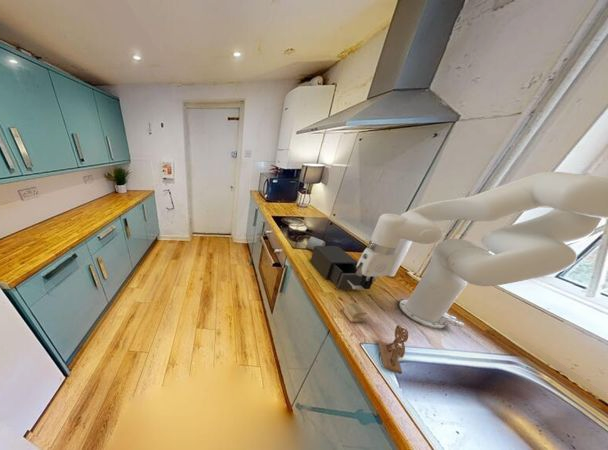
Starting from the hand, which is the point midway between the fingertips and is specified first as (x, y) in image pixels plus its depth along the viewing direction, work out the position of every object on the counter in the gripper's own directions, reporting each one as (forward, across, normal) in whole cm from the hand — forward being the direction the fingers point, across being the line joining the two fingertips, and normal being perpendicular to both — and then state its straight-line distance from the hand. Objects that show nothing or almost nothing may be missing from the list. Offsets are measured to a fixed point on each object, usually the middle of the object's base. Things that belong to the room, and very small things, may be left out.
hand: (364, 286), depth 79 cm
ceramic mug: (+7, +2, +40) cm, 40 cm away
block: (+7, -9, -8) cm, 14 cm away
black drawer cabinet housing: (+7, 0, +20) cm, 21 cm away
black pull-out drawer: (+6, 0, +9) cm, 11 cm away
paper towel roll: (+7, +28, +17) cm, 33 cm away
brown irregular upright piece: (+7, -8, -23) cm, 26 cm away
